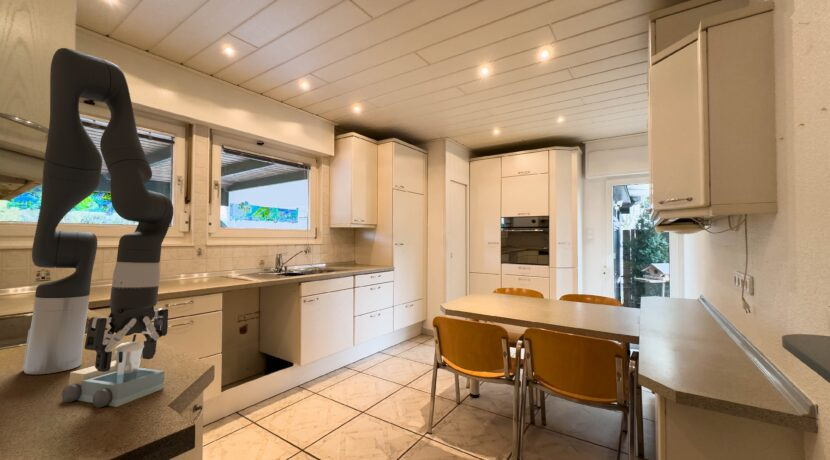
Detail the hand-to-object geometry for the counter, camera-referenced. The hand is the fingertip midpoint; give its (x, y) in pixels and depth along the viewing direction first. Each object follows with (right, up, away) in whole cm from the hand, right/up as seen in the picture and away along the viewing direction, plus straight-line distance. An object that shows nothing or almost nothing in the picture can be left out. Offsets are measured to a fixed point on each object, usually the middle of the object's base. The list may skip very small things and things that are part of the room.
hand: (127, 364), depth 67 cm
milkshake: (0, -5, 0) cm, 5 cm away
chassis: (-2, -6, 0) cm, 6 cm away
